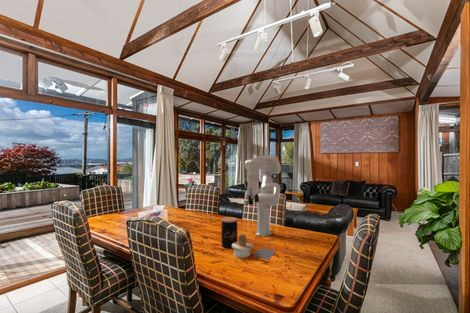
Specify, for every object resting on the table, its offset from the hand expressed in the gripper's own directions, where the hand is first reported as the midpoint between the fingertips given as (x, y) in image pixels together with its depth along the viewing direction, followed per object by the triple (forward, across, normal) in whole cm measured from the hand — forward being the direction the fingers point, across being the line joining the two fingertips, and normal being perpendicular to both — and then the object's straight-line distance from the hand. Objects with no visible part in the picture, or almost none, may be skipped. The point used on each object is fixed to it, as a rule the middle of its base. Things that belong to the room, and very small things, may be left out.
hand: (253, 203), depth 154 cm
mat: (+28, +11, +12) cm, 33 cm away
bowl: (+28, +18, 0) cm, 34 cm away
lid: (+23, +18, 0) cm, 29 cm away
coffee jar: (+28, +9, -14) cm, 33 cm away
